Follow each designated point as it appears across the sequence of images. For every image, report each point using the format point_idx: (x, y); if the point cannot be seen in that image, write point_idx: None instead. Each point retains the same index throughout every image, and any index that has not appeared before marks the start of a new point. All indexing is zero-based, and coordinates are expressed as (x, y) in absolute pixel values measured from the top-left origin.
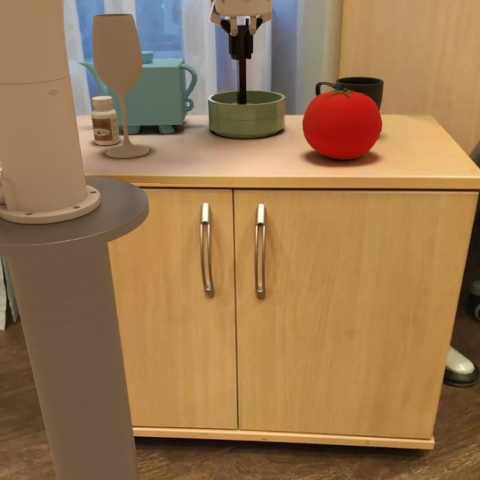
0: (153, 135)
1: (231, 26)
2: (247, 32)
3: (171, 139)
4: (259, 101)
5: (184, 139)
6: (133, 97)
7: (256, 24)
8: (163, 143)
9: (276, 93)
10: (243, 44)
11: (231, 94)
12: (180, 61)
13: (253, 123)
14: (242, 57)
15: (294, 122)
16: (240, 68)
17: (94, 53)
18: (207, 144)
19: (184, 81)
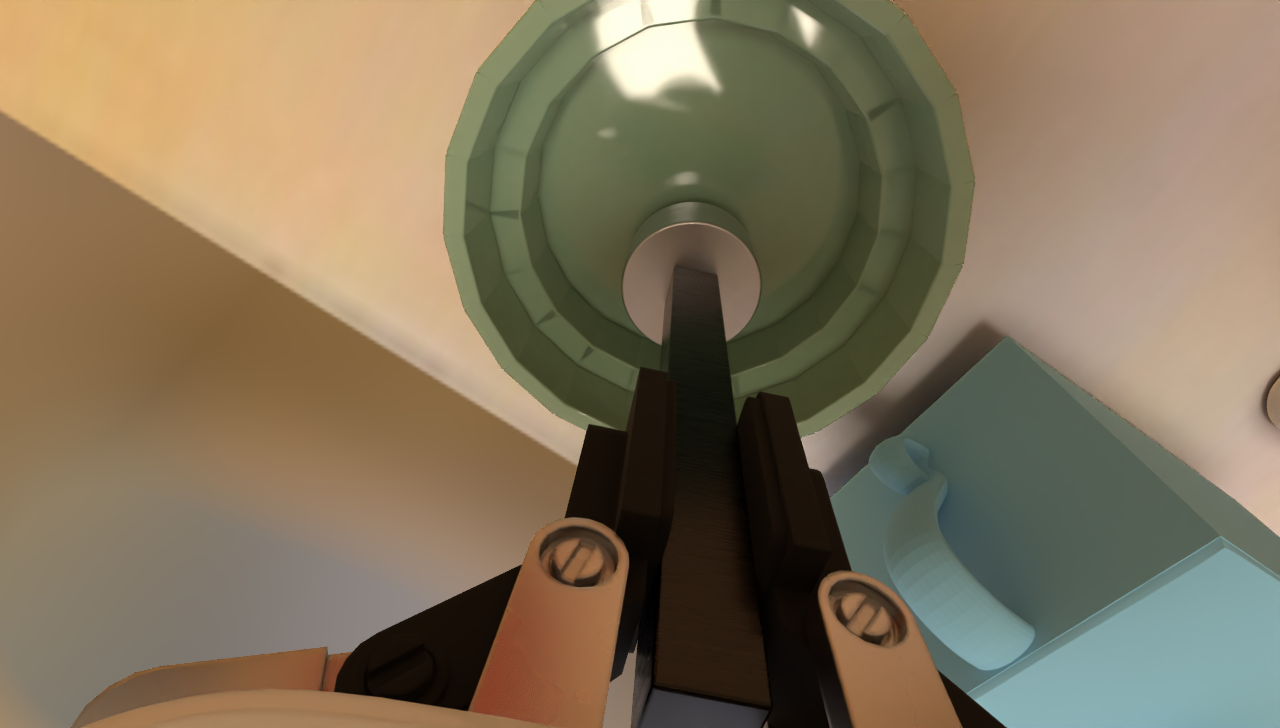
0: (1089, 376)
1: (935, 695)
2: (637, 587)
3: (1094, 266)
4: (532, 335)
5: (1053, 228)
6: (1269, 540)
7: (472, 647)
8: (1183, 222)
9: (463, 235)
10: (692, 500)
11: None
12: (993, 694)
13: None
14: (702, 424)
15: (397, 188)
16: (721, 377)
17: None
18: (1055, 56)
19: None
